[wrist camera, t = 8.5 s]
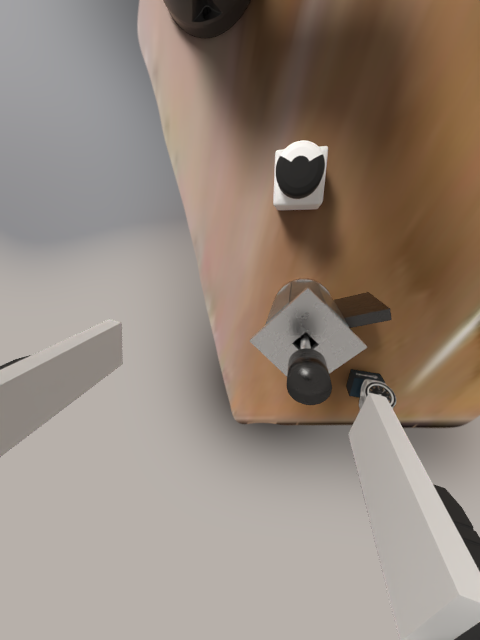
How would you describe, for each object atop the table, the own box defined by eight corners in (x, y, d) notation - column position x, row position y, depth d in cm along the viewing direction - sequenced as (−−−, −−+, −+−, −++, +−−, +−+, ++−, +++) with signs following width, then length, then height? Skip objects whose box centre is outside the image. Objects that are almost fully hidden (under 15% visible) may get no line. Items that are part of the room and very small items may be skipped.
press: (323, 247, 42) (340, 253, 26) (368, 293, 42) (412, 327, 26) (262, 306, 48) (245, 340, 32) (303, 345, 49) (306, 398, 33)
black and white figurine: (318, 209, 40) (326, 198, 29) (276, 210, 41) (269, 201, 30) (323, 160, 37) (334, 129, 26) (278, 164, 39) (271, 135, 28)
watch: (382, 365, 46) (406, 401, 36) (372, 398, 49) (391, 440, 39) (352, 360, 47) (367, 394, 37) (344, 393, 50) (355, 432, 40)
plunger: (304, 279, 41) (312, 325, 19) (337, 313, 41) (382, 393, 20) (269, 311, 44) (244, 381, 23) (301, 342, 45) (305, 438, 23)
